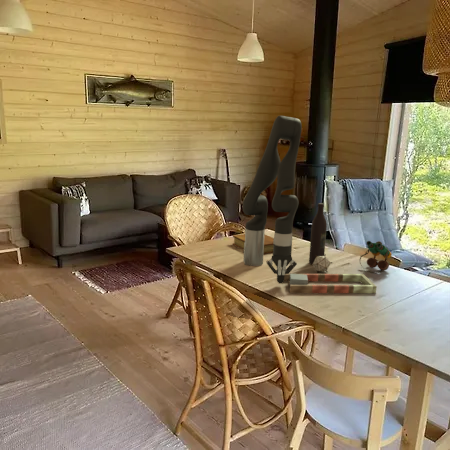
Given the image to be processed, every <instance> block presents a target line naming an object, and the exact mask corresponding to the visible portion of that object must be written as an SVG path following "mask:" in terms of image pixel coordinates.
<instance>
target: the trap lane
mask: <svg viewBox="0 0 450 450" xmlns="http://www.w3.org/2000/svg"><path fill="white" fill-rule="evenodd" d="M290 274H291V273H289V274H285V275H284V282H290ZM305 274H306V275H307V278H308V282H327V283H328V282H335V283H338V282H340V283H341V282H342V283H343V282H344V283H345V282H346V283H347V282H349V283H350V282H352V283H353V282H354V283H355V282H356V283H359V282H360V283H361V284H308V285H290V284H289V293H290V294H376V293H377V287H378V286H377V285H376V284H375V283H374V282H373V281H372V280H370V279H369V278H368V277H367V276H366V275H365V274H364V273H305Z"/></svg>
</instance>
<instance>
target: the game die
mask: <svg viewBox="0 0 450 450" xmlns="http://www.w3.org/2000/svg"><path fill="white" fill-rule="evenodd" d="M331 264H333V262H331V261H330V260H329V258H327V256H326V253H324V256H317V255H316V258H315V260H314V262H313V264H310V265H311V266H313V267H314V268H315V270H316V271H317V273H316V274H319V272H326V273H328V269H329V267H330V265H331Z"/></svg>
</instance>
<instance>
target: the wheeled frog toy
mask: <svg viewBox="0 0 450 450" xmlns="http://www.w3.org/2000/svg"><path fill="white" fill-rule="evenodd" d="M366 246H367V248H368V249H367V250H366V251H365V253H364V254H362V255H360V257H359V264H360V266H361V267H363V266H362V262H361V261H362V260H361V259H362V257H364V256H367V255H368V254H369V252H370V253H371V254H372V255H373V257H368V259H366V265H367V266H368V267H370V268H371V269H373V268H378V269H379V270H381V271H370V270H367V269H366V268H364V271H367V272H369V273H373V274H379V273H383V272H384V271H387V270H388V269H389V267H390V262H389V259H390V258H392V255H393V254H392V252H391V251H390V250H389V249H388V247H386V246H385V245H384V244H383V243H382V242H381V241H380V240H379V241H376V242H372V240H367V241H366ZM379 255H381V256H382V257H383V258H384V260H383V259H381V260H379V261H378V260H377V259H376V257H378V256H379Z"/></svg>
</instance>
